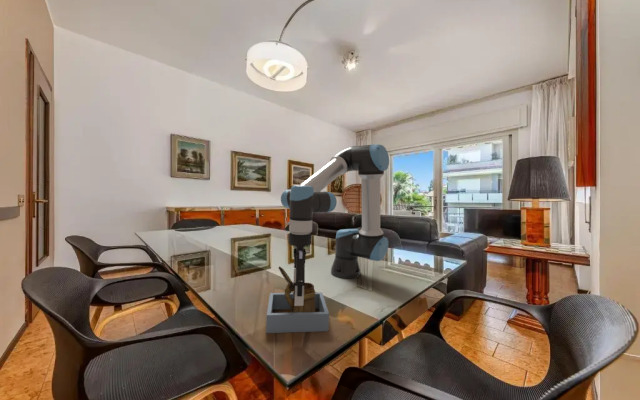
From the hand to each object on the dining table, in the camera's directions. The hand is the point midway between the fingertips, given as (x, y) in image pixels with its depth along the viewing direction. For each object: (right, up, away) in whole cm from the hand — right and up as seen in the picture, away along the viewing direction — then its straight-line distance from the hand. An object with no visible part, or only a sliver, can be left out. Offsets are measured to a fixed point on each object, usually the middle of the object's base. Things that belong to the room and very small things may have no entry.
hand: (297, 295), depth 83 cm
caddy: (0, -8, 0) cm, 8 cm away
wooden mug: (0, -8, +1) cm, 8 cm away
